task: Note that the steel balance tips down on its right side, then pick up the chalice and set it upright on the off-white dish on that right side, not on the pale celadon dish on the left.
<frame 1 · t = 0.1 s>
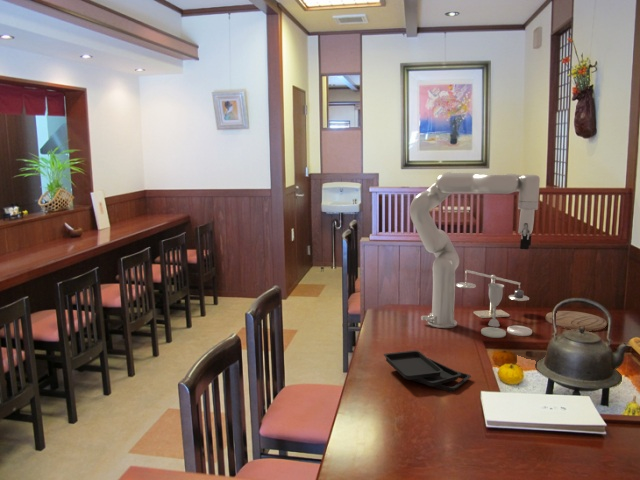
hand: (525, 247, 230), 37 cm above the table, tool pointing down, fingers open, 9 cm apart
tray: (422, 379, 191), on the table
dish right: (519, 332, 239), on the table
chalice: (493, 325, 248), on the table
dish left: (493, 333, 237), on the table
trivet: (575, 323, 252), on the table
balance: (491, 314, 263), on the table
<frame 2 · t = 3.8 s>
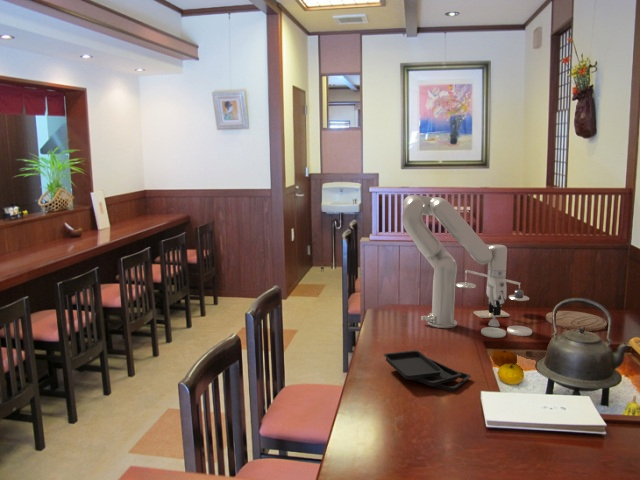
hand: (494, 313, 247), 5 cm above the table, tool pointing down, fingers closed on chalice, 3 cm apart
chalice: (493, 325, 248), on the table, touching gripper
everything else where it was.
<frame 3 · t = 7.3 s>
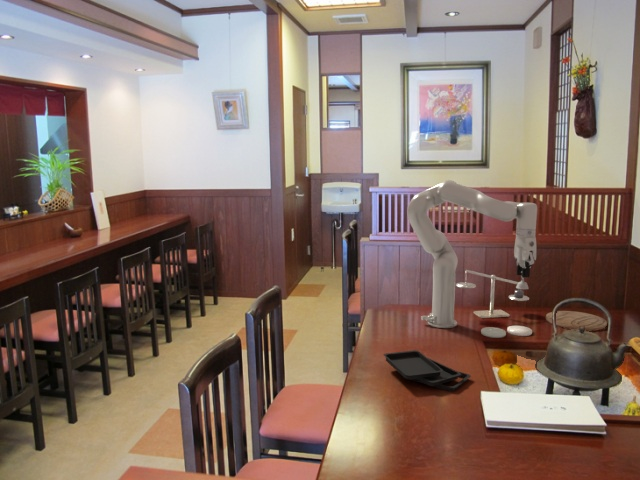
hand: (522, 275, 235), 25 cm above the table, tool pointing down, fingers closed on chalice, 3 cm apart
chalice: (522, 288, 236), point 19 cm above the table, touching gripper
everything else where it was.
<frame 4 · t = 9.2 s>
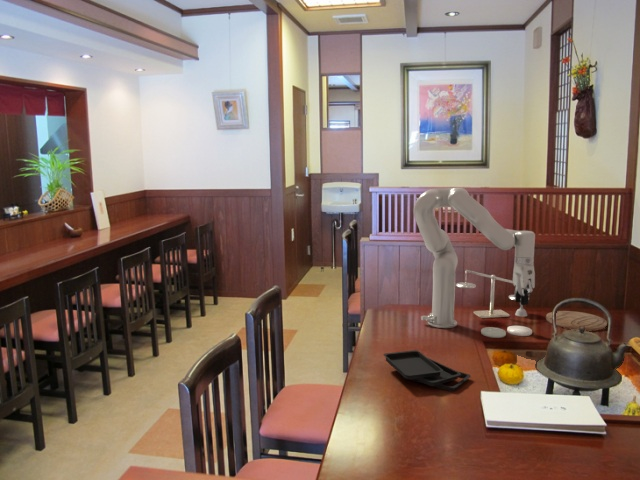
hand: (521, 302, 237), 13 cm above the table, tool pointing down, fingers closed on chalice, 3 cm apart
chalice: (521, 315, 237), point 7 cm above the table, touching gripper
everything else where it was.
when the fingers open (8 cm above the table, at t = 10.6 s): chalice drops 1 cm, resting on dish right.
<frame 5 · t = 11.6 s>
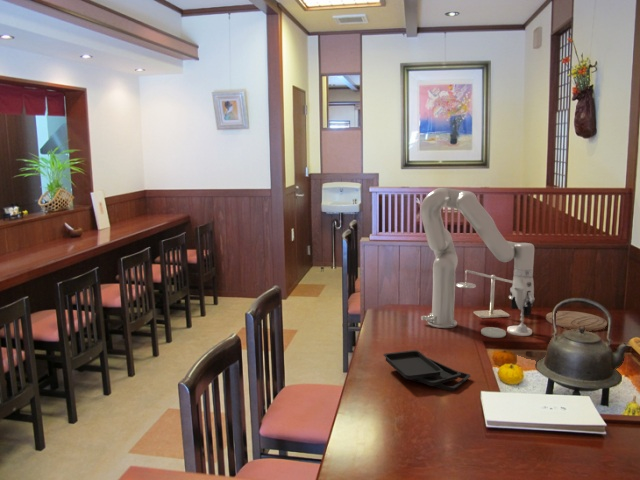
hand: (520, 312, 237), 9 cm above the table, tool pointing down, fingers open, 9 cm apart
chalice: (521, 331, 236), point 1 cm above the table, touching dish right, gripper
everything else where it was.
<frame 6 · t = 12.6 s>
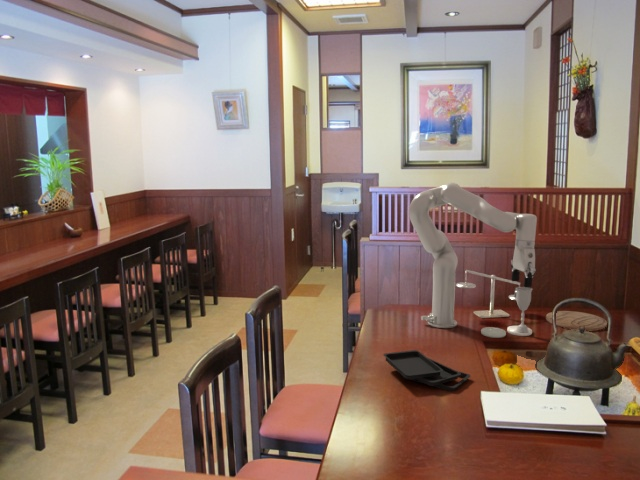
hand: (521, 283, 235), 21 cm above the table, tool pointing down, fingers open, 9 cm apart
chalice: (522, 331, 236), point 1 cm above the table, touching dish right
everything else where it was.
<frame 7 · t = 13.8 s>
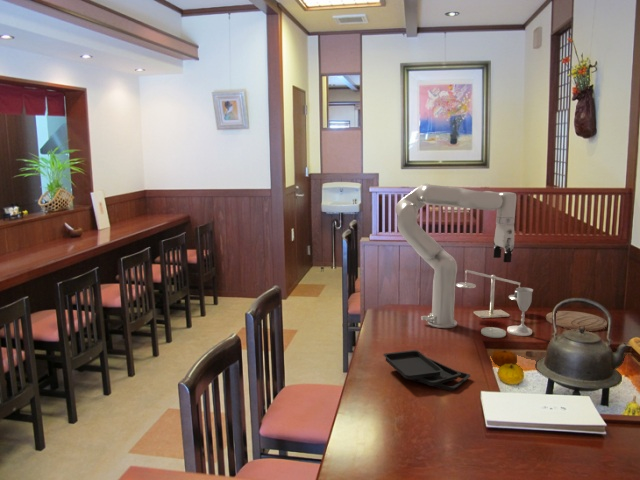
hand: (501, 259, 245), 29 cm above the table, tool pointing down, fingers open, 9 cm apart
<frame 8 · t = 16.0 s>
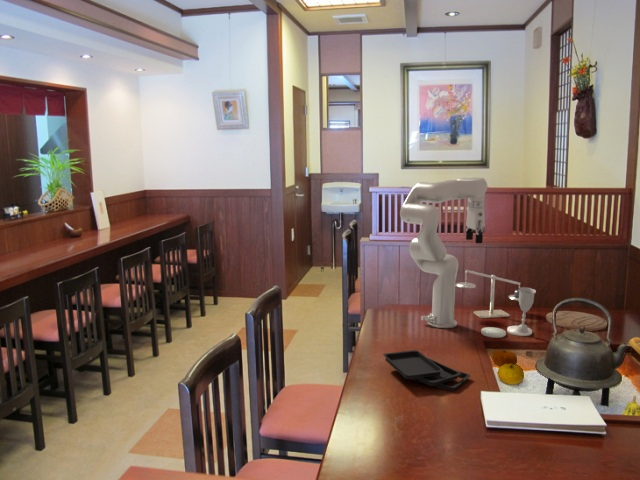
hand: (473, 241, 261), 34 cm above the table, tool pointing down, fingers open, 9 cm apart
at the end: chalice 2.5 cm off-centre on the dish right, point 1.3 cm above the dish right's base; chalice tilted 6°; the gripper is holding nothing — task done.
